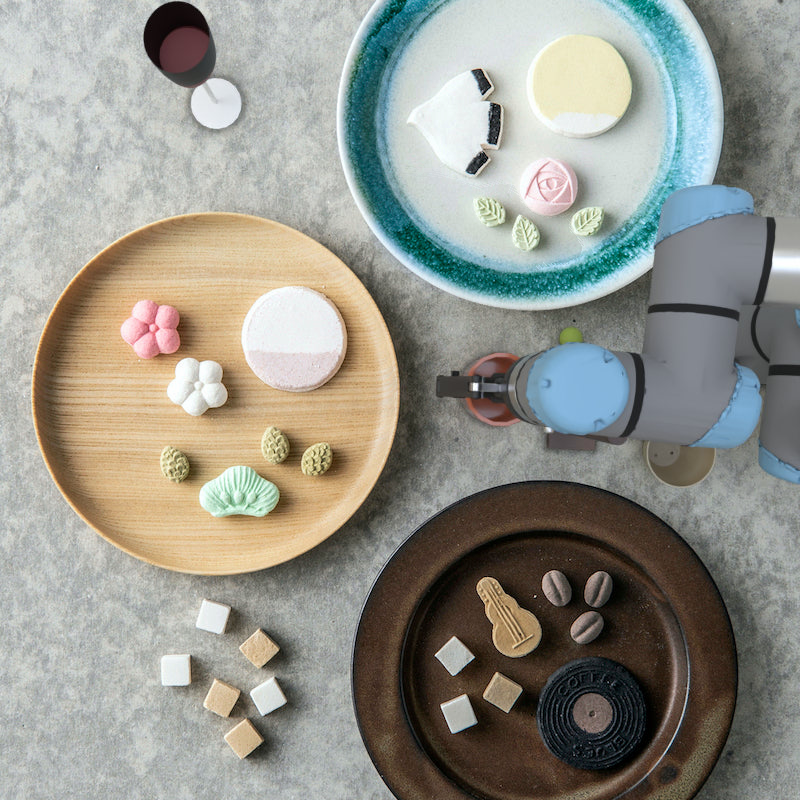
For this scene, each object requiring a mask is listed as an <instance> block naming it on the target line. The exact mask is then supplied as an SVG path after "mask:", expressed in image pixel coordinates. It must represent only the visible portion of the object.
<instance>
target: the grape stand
mask: <svg viewBox="0 0 800 800" xmlns="http://www.w3.org/2000/svg"><path fill="white" fill-rule="evenodd" d="M628 439H629V438H622V437H616V438H615V437H607V436H599V435H590V434H586V435H576V434H564V433H560V432H557V431H555V430H554V432H553V433H551V434H549V433H547V443H546V445H547V446H546V447H547V449H551V450H577V451H596V442H601V443H604V444H608V445H612V446H622V445H624V444H625V443H626V442H627V441H628Z"/></svg>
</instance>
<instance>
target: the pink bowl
mask: <svg viewBox="0 0 800 800" xmlns="http://www.w3.org/2000/svg"><path fill="white" fill-rule="evenodd" d="M520 358H521V357H519V356H517V355H515V354H513V353H510V352H494V353H490V354H488V355H485V356H483V357H482V356H481V357H479V358H477V359H474V361H473V362H471V363H470V365H468V366H467V368H466V369H465V370H464V372H463V374H462V376H474V375H481V376H484V377H491V376H492V374H493V373H506V372H507V370H508V369H509V367H510V366H511V365H512V364H513V363H514V362H515V361H517V360H518V359H520ZM460 401H461V403H462V407H463V408H464V409H465V410H466V412H467V414H469V415H470V416H471V417H472V418H473V419H475V420H477V421H479V422H481V423H483V424H487V425H490V426H491V427H509V426H512V425H514V424H517V423H520V422H522V421H521V420H519V419H518V418H517V417H515V416H514V415H513V414H512V413H511V412H510V411H509V409H508V408H507V406H506V404H504V403H492V402H491V400H489V399H488V398H480V399H478V400H474V399H473V398H460Z"/></svg>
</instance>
